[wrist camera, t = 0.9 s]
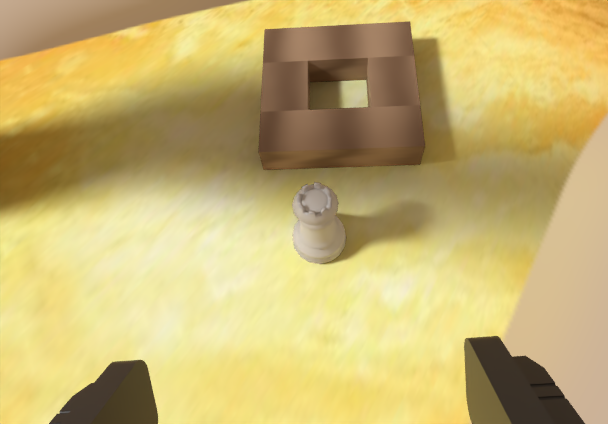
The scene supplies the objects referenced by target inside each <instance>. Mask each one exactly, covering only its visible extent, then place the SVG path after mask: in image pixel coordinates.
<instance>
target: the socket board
mask: <svg viewBox="0 0 608 424" xmlns="http://www.w3.org/2000/svg"><path fill="white" fill-rule="evenodd" d="M366 79H367V93H368V107H364V108H340V109H316V110H310V82H322V81H344V80H366ZM424 148H425V141H424V133H423V125H422V116H421V108H420V100H419V92H418V84H417V75H416V67H415V59H414V51H413V42H412V34H411V26H410V22H394V23H375V24H357V25H338V26H319V27H301V28H282V29H265V34H264V54H263V74H262V94H261V114H260V134H259V155H260V159H261V162H262V165H263V169H264V170H271V169H301V168H330V167H360V166H389V165H419V164H420V162H421V159H422V155H423V152H424Z"/></svg>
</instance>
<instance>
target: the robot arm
mask: <svg viewBox="0 0 608 424" xmlns="http://www.w3.org/2000/svg"><path fill="white" fill-rule="evenodd" d="M464 350H465V373H466V396H467V404H468V410H469V415H470V419H471V422H472V424H585V423H584V422H583V420H582V419H581V418H580V416H579V415H578V414H577V412H576V411H575V409H574V408H573V407H572V405H571V404H570V403H569V401H568V400H567V399H565V397H564V394H563V393H562V392H561V390H560V389H559V388H558V386H556V385H555V382H554V381H553V379H552V378H551V377H550V375H549V374H548V373H547V371H546V370H545V368H543V367H542V366H540V365H539V364H537V363H536V362H534V361H533V360H531V359H529V358H528V357H526V356H517V357H512V356H511V355H510V353H509V352H508V350H507V348H506V347H505V345H504V344H503V342H502V341H501V339H500V338H499V337H498V336H491V337H477V338H466V339H465V344H464ZM49 424H158V413H157V408H156V403H155V399H154V394H153V390H152V385H151V381H150V376H149V372H148V368H147V365H146V363H145V362H144V361H143V360H133V361H118V362H112V363H111V364H110V365H109V366H108V367H107V368H106V369H105V371H104V372H103V373H102V374H101V375H100V377H99V378H98V379H97V380H96V381H95V383H91V384H89V385H88V386H87V387H85V388H84V389H82V390H81V391H80V392H78V393H77V394H75V395H74V396H72V398H71V399H70V400H69V401H68V402H67V403H66V404H65V406H64V407H63V408H62V409H61V410H60V414H57V415H56V416H55V417H54V418H53V419H52V421H51V422H50V423H49Z"/></svg>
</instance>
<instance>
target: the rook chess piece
mask: <svg viewBox="0 0 608 424" xmlns="http://www.w3.org/2000/svg"><path fill="white" fill-rule="evenodd" d="M292 206H293V211H294V214H295V215H296V216H297V218H298V219H299V220H298V221H297V223H296V224H295V226H294V231H293V243H294V248H295V250H296V251H297V253H298V254H299V255H300V257H302V258H303V259H305V260H307V261H308V262H311V263H318V264H322V263H326V262H330V261H332V260H333V259H335V258H336V257H338V256H339V255H340V254H341V252H342V250H343V249H344V247H345V242H346V234H345V230H344V226H343V223H342V222H341V221H340V220H339V218H338V217H337V216H336V215H335V214H336V212H337V209H338V199H337V196H336V194H335V193H334V192H333V191H332V189H330V188H328V187H326V186H325V185H321V183H317V182H314V184H312V185H308V184H306V185H304V186H303V187H302V189H300V190H299V191H298V192H297V194H296V195H295V197H294V199H293V204H292Z"/></svg>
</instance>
